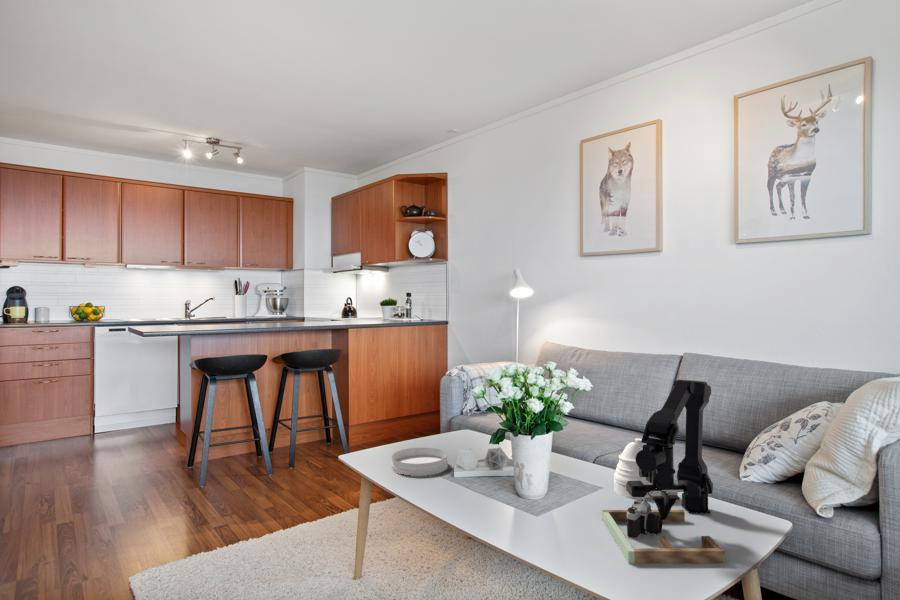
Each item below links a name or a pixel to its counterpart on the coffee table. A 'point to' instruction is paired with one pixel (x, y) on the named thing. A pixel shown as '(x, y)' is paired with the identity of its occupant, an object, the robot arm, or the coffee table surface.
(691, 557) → the trap box
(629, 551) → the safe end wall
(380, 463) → the coffee table surface
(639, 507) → the camera
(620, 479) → the honey pot
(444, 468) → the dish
